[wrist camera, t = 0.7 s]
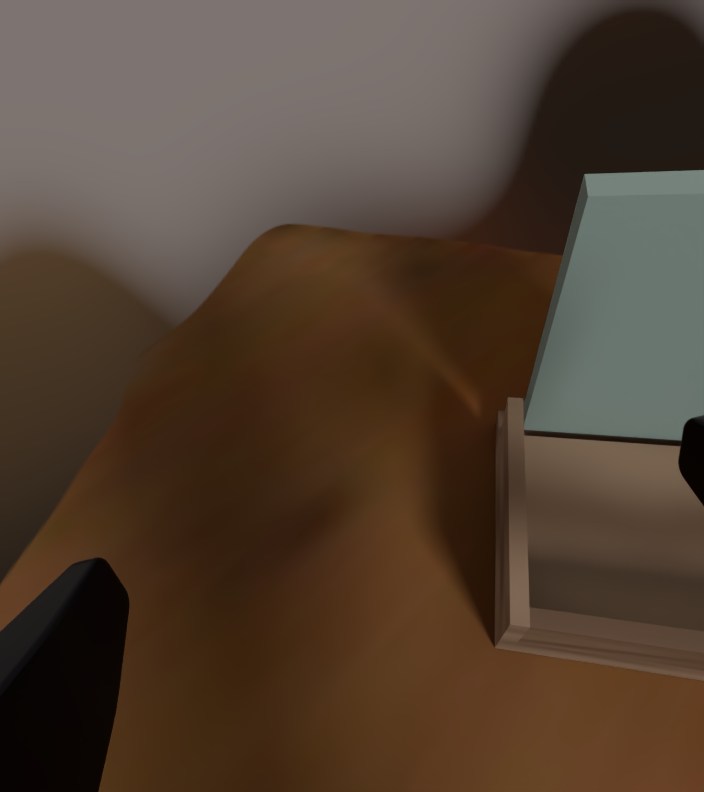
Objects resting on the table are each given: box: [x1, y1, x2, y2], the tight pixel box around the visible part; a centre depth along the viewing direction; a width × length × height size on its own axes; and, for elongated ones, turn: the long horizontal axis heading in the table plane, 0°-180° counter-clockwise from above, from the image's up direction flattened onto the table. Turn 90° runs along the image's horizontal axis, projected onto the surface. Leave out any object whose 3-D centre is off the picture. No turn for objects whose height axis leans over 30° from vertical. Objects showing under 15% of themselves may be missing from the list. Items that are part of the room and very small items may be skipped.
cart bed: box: [495, 397, 704, 681], centre depth 19 cm, size 10×11×5 cm
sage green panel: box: [523, 170, 704, 440], centre depth 17 cm, size 2×9×12 cm, turn 81°
